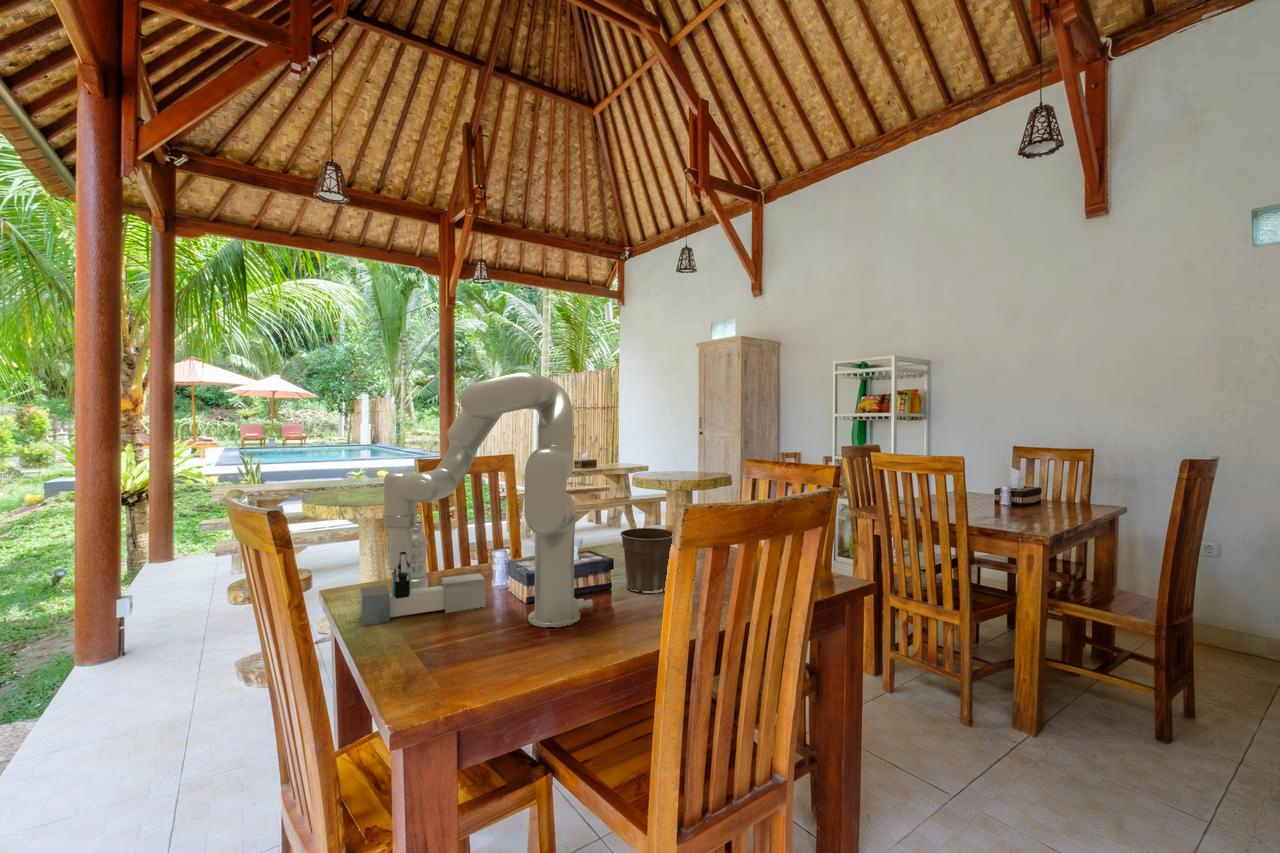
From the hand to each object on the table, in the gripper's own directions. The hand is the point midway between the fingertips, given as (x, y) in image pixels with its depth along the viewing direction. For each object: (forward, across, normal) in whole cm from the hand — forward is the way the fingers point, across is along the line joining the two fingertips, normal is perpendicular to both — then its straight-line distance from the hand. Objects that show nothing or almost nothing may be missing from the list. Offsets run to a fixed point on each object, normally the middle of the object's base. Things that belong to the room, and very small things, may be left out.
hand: (400, 593), depth 142 cm
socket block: (+5, 0, -6) cm, 8 cm away
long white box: (+5, 0, +2) cm, 6 cm away
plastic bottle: (+6, -17, +6) cm, 19 cm away
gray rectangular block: (+5, 0, +15) cm, 16 cm away
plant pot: (+6, +9, +66) cm, 66 cm away
